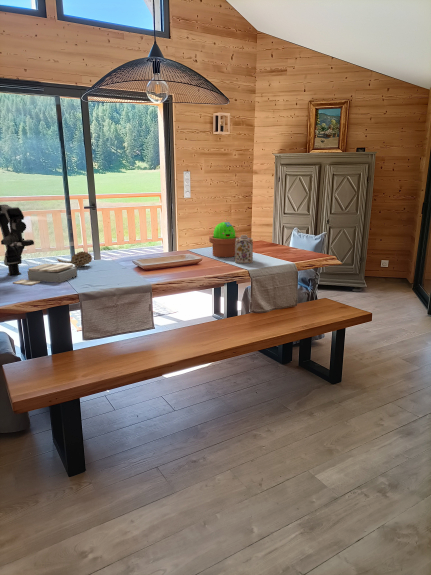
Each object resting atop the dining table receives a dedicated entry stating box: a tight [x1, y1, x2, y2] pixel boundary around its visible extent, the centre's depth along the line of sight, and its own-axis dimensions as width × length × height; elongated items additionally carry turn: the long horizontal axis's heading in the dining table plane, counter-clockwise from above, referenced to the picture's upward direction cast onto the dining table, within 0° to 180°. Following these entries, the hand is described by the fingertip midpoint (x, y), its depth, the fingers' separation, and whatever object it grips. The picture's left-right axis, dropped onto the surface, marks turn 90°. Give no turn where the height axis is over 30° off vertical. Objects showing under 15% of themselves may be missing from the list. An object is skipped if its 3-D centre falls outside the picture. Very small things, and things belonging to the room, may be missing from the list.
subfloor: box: [27, 263, 78, 283], centre depth 243 cm, size 22×16×6 cm
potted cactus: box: [208, 221, 241, 258], centre depth 303 cm, size 22×22×25 cm
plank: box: [12, 278, 42, 286], centre depth 233 cm, size 13×7×1 cm, turn 71°
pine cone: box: [56, 251, 93, 268], centre depth 270 cm, size 22×10×10 cm, turn 111°
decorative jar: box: [234, 234, 254, 264], centre depth 283 cm, size 12×12×18 cm
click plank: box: [39, 263, 74, 272], centre depth 241 cm, size 13×14×1 cm
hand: (19, 257), depth 238 cm, fingers closed
